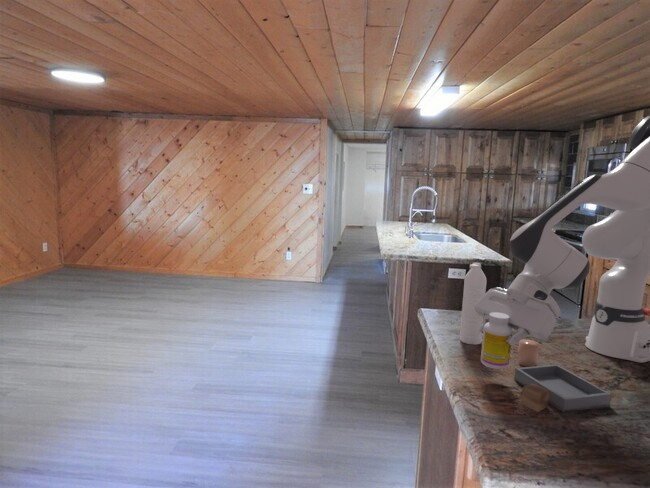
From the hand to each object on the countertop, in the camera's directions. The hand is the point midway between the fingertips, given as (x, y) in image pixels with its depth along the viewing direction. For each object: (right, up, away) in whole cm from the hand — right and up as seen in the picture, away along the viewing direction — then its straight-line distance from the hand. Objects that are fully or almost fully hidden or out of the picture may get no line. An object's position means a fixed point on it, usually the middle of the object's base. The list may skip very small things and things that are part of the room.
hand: (495, 338), depth 107 cm
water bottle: (+3, -7, +27) cm, 29 cm away
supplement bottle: (0, -7, +1) cm, 7 cm away
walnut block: (+5, -13, -10) cm, 17 cm away
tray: (+14, -12, -3) cm, 19 cm away
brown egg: (+14, -10, +13) cm, 21 cm away
